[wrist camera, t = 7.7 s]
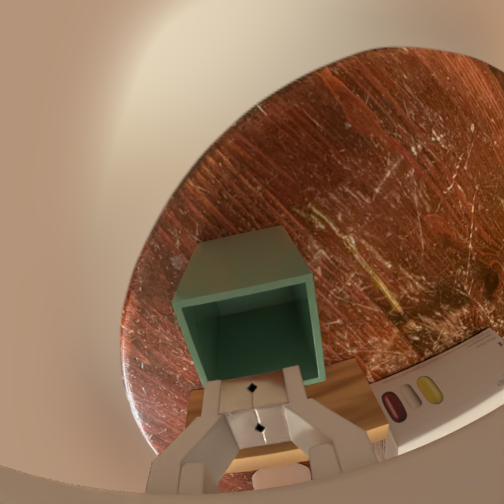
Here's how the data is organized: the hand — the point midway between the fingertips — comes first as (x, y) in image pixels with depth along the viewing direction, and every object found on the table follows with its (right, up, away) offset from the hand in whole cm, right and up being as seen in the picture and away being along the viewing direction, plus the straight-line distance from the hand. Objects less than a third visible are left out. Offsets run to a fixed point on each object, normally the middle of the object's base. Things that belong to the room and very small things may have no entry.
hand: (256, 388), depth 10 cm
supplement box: (+21, -12, +21) cm, 33 cm away
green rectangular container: (0, -1, +15) cm, 16 cm away
